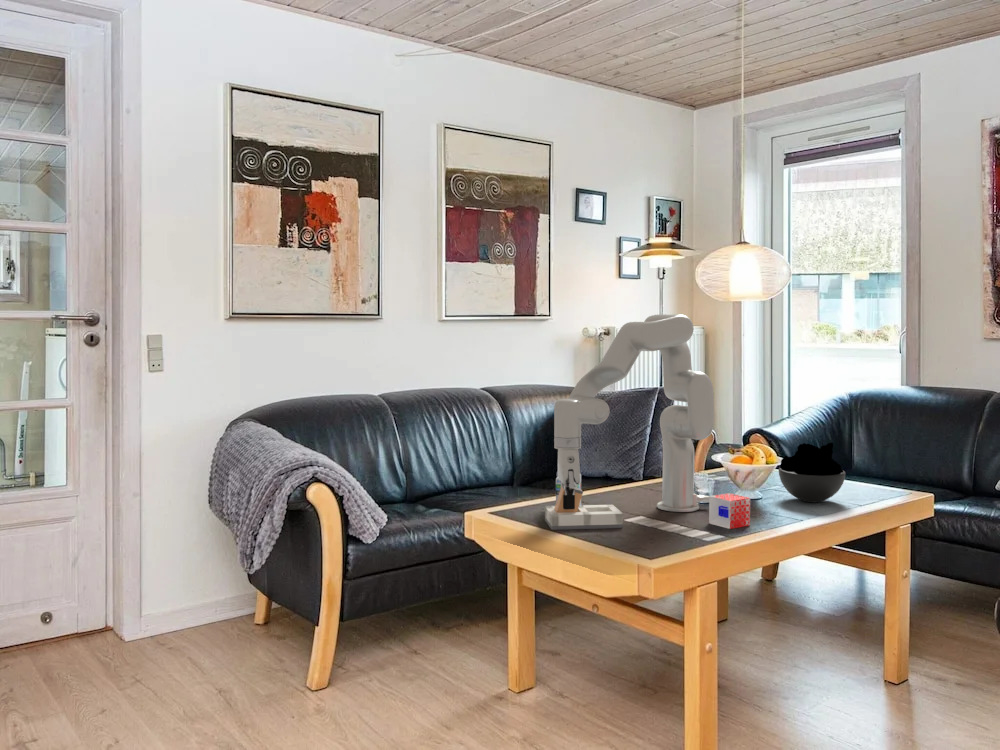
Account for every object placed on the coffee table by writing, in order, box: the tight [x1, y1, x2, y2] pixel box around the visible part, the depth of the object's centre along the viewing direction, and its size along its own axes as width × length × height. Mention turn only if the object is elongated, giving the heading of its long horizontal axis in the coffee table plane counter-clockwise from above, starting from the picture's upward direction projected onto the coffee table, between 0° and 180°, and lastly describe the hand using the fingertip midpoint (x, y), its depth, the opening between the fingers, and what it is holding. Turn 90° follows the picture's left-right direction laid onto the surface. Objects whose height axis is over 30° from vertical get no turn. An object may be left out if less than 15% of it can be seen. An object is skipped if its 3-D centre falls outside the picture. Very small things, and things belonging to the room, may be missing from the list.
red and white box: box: [708, 492, 751, 530], centre depth 246 cm, size 8×8×8 cm
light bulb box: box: [555, 473, 582, 505], centre depth 264 cm, size 11×7×11 cm, turn 168°
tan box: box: [554, 484, 584, 513], centre depth 246 cm, size 6×4×8 cm
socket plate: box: [544, 504, 624, 531], centre depth 247 cm, size 20×12×4 cm, turn 96°
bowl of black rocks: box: [778, 442, 846, 503], centre depth 276 cm, size 20×20×19 cm
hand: (567, 506), depth 246 cm, fingers closed on tan box, 3 cm apart
